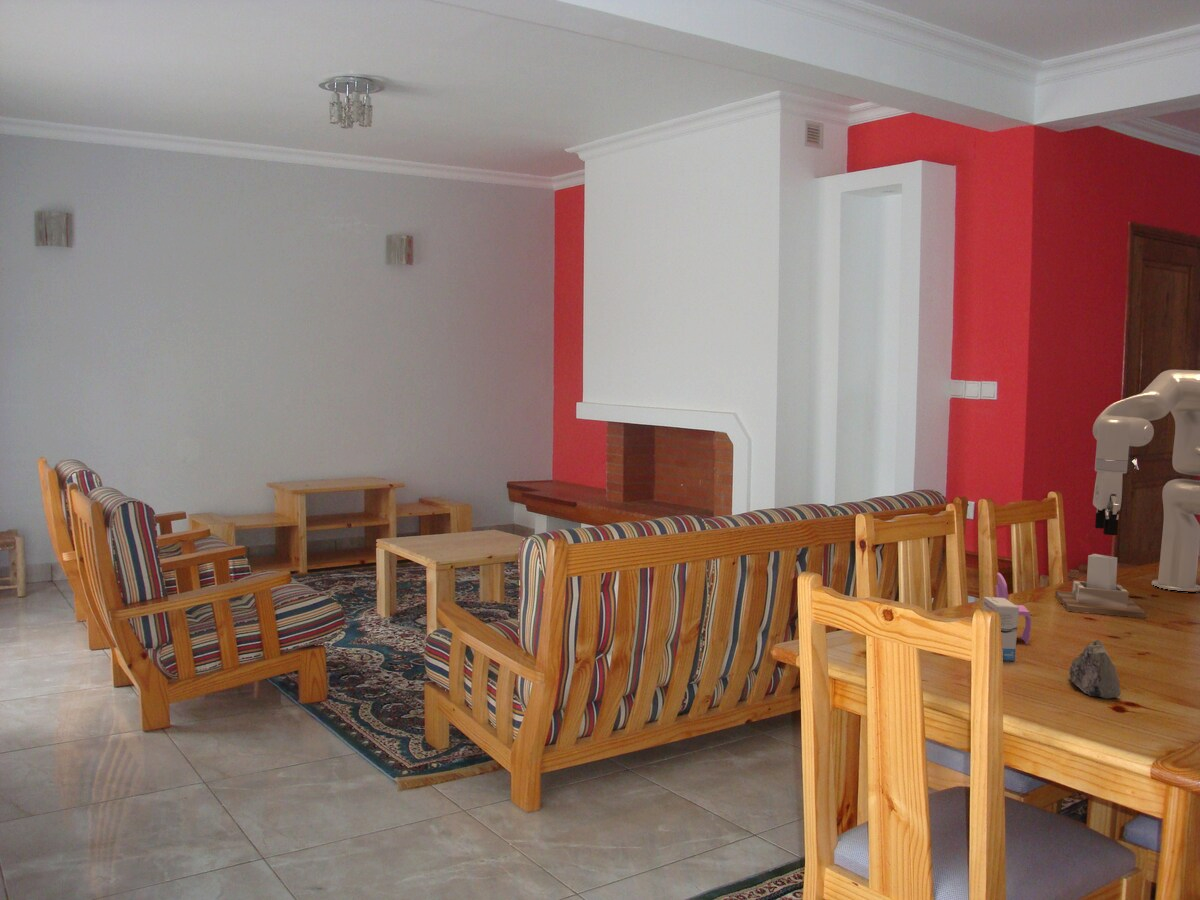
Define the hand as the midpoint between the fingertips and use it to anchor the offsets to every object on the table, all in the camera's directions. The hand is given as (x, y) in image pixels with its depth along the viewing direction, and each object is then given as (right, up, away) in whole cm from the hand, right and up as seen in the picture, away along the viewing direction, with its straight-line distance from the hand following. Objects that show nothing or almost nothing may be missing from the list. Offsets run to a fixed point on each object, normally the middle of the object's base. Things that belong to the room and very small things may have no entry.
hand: (1105, 531), depth 269 cm
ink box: (-47, -23, -48) cm, 70 cm away
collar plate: (-1, -20, +2) cm, 20 cm away
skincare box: (-1, -19, +1) cm, 19 cm away
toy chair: (-39, -22, -34) cm, 56 cm away
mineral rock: (-36, -25, -68) cm, 81 cm away
